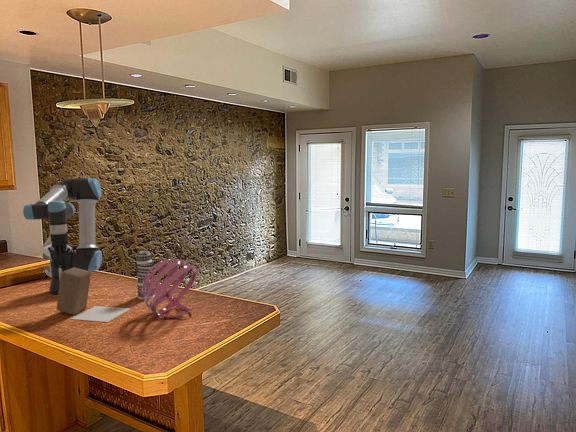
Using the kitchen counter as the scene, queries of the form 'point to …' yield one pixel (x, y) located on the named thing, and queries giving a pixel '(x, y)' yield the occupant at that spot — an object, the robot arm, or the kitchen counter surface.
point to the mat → (100, 314)
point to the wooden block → (73, 290)
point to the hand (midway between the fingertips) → (63, 280)
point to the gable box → (47, 255)
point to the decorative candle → (143, 270)
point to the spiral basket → (163, 286)
